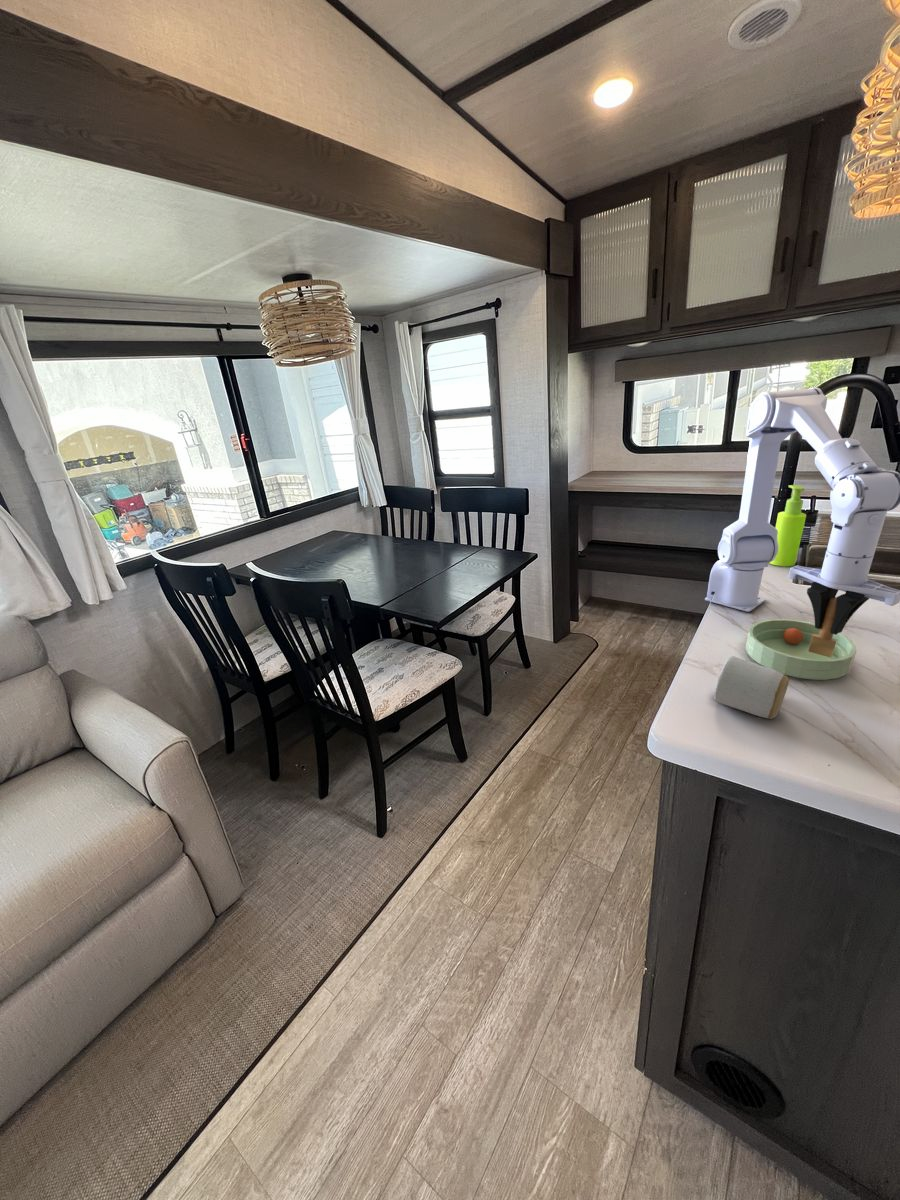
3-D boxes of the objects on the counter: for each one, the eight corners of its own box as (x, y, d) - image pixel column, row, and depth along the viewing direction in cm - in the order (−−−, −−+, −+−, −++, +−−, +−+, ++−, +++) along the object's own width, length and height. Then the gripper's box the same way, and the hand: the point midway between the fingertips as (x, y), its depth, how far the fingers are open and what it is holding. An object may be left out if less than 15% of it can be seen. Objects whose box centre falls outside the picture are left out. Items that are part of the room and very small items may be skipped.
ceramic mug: (772, 731, 67) (783, 686, 64) (710, 709, 72) (718, 667, 69) (787, 696, 74) (798, 654, 71) (730, 679, 79) (737, 639, 76)
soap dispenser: (790, 558, 126) (806, 483, 118) (798, 566, 120) (816, 488, 112) (764, 557, 128) (779, 483, 120) (771, 566, 122) (787, 489, 114)
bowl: (730, 658, 85) (733, 638, 83) (765, 629, 93) (769, 611, 91) (831, 693, 73) (838, 672, 72) (862, 657, 81) (868, 637, 80)
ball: (779, 627, 88) (794, 628, 88) (779, 643, 87) (794, 644, 88) (791, 627, 85) (807, 628, 85) (791, 644, 84) (807, 645, 85)
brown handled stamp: (807, 652, 80) (823, 597, 76) (809, 648, 81) (826, 595, 77) (830, 658, 78) (848, 603, 74) (832, 654, 79) (850, 600, 75)
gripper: (922, 558, 68) (894, 639, 73) (812, 537, 80) (795, 608, 85) (898, 569, 65) (871, 653, 71) (788, 545, 77) (772, 619, 82)
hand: (828, 629), depth 78 cm, fingers closed on brown handled stamp, 2 cm apart
